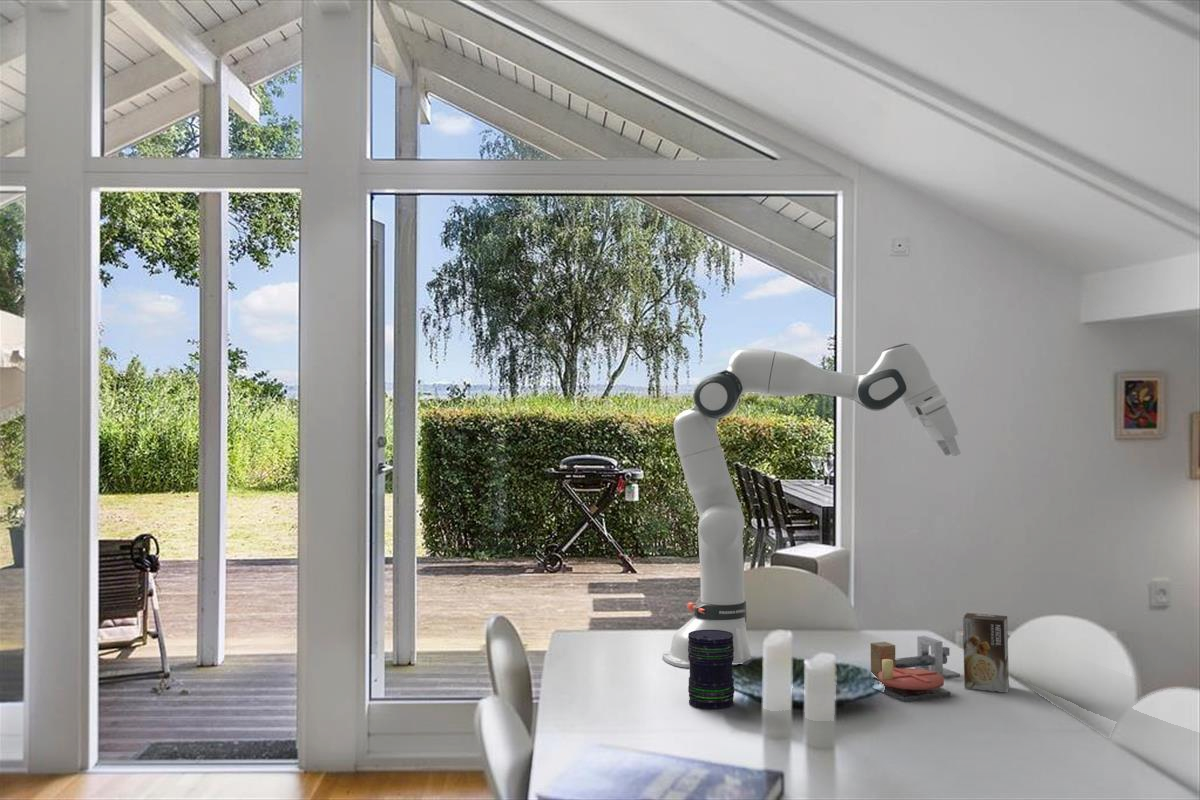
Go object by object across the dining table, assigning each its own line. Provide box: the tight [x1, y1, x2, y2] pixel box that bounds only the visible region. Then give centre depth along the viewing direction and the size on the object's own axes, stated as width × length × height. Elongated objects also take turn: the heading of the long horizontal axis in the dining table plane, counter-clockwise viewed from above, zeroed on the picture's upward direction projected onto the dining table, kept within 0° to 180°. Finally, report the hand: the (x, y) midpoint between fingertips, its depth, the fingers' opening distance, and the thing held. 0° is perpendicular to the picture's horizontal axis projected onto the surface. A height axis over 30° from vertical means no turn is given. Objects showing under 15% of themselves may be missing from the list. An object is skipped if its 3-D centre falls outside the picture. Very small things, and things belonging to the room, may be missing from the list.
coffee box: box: [962, 612, 1010, 693], centre depth 245 cm, size 9×6×16 cm
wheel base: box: [883, 685, 952, 703], centre depth 242 cm, size 12×12×1 cm
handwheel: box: [877, 659, 945, 690], centre depth 242 cm, size 14×14×6 cm
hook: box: [870, 641, 951, 678], centre depth 256 cm, size 20×4×8 cm, turn 110°
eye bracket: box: [914, 635, 961, 679], centre depth 258 cm, size 6×9×8 cm, turn 20°
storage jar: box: [687, 630, 735, 711], centre depth 234 cm, size 10×10×15 cm
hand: (952, 454), depth 264 cm, fingers open, 8 cm apart
